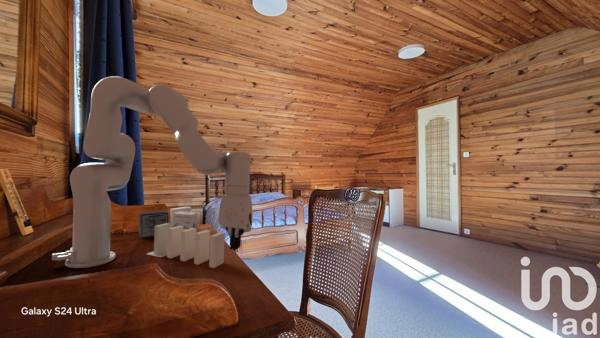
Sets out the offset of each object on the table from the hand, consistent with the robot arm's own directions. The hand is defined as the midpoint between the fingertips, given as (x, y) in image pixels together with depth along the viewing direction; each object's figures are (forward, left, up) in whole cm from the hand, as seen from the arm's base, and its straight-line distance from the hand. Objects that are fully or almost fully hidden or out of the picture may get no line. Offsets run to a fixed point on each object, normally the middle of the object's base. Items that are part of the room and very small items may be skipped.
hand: (235, 248), depth 82 cm
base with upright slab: (0, +49, -7) cm, 50 cm away
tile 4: (-11, +23, -6) cm, 26 cm away
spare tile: (-13, +28, -6) cm, 32 cm away
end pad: (-13, +28, -6) cm, 32 cm away
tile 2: (-6, +12, -6) cm, 15 cm away
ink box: (-2, +38, -7) cm, 39 cm away
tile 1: (-3, +6, -6) cm, 9 cm away
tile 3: (-8, +17, -6) cm, 20 cm away
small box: (-9, +54, -7) cm, 55 cm away
